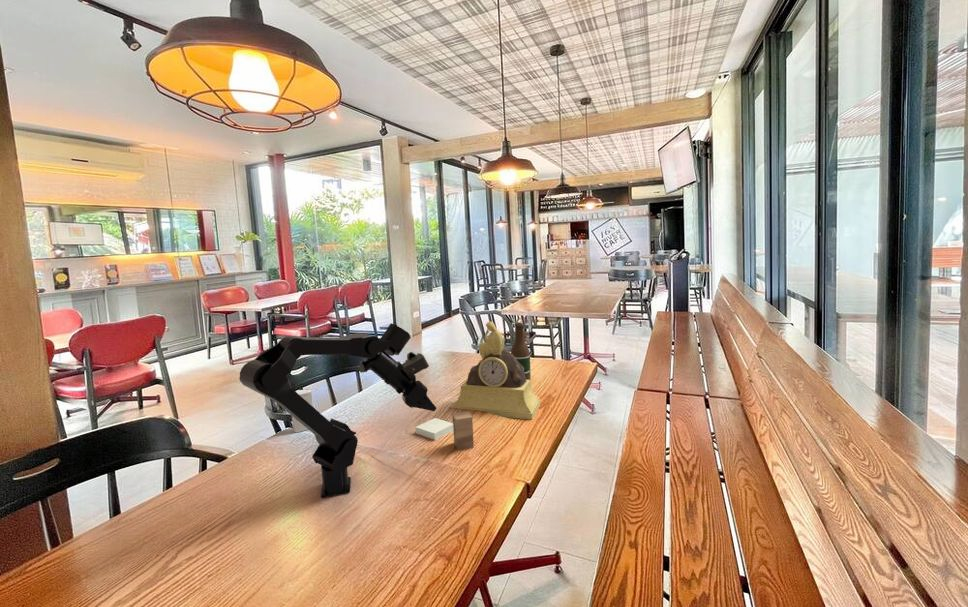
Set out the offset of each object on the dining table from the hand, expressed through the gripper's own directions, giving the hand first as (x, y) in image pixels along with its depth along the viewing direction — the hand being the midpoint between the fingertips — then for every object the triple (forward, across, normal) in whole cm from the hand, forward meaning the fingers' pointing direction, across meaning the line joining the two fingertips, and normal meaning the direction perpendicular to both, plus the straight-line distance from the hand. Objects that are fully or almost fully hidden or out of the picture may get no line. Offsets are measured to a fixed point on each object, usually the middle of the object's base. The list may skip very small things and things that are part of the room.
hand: (430, 404), depth 116 cm
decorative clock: (+29, +20, -11) cm, 37 cm away
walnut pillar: (+15, -3, +4) cm, 16 cm away
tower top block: (+11, +9, +6) cm, 15 cm away
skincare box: (-13, +34, +33) cm, 49 cm away
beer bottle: (+42, +40, -26) cm, 64 cm away
